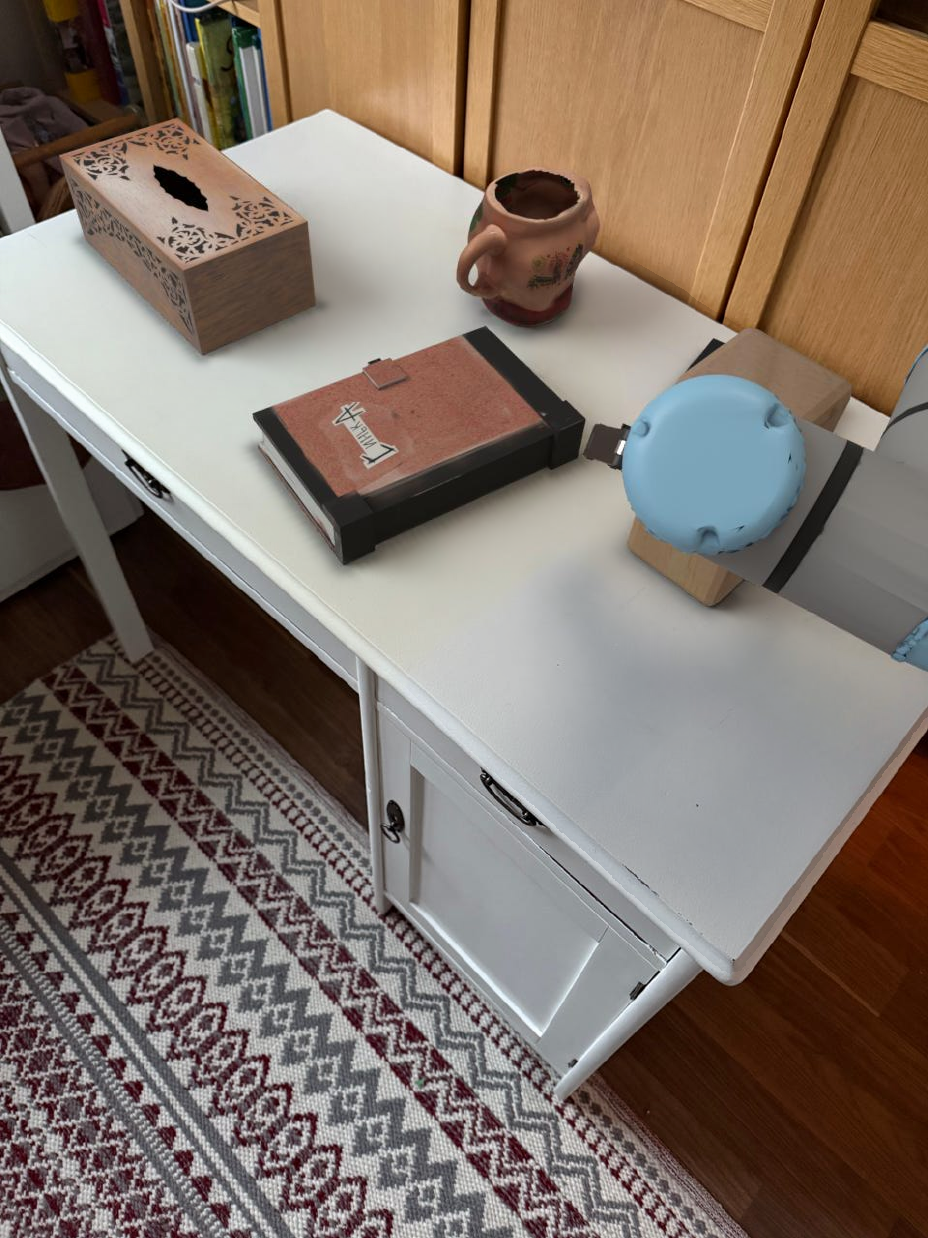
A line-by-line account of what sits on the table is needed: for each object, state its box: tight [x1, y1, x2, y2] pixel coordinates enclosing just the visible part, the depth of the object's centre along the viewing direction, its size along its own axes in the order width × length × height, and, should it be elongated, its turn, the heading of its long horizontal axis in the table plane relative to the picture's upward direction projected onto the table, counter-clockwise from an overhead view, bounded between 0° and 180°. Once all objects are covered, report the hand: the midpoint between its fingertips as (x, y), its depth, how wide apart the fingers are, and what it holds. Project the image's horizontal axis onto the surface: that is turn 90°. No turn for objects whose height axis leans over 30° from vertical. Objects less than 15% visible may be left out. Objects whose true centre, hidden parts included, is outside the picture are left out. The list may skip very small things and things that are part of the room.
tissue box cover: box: [58, 117, 317, 356], centre depth 99 cm, size 26×14×10 cm, turn 41°
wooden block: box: [627, 327, 853, 607], centre depth 75 cm, size 10×10×20 cm
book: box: [251, 325, 587, 566], centre depth 87 cm, size 26×18×5 cm
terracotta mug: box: [455, 166, 601, 327], centre depth 97 cm, size 20×12×14 cm, turn 141°
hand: (721, 493), depth 72 cm, fingers open, 13 cm apart
